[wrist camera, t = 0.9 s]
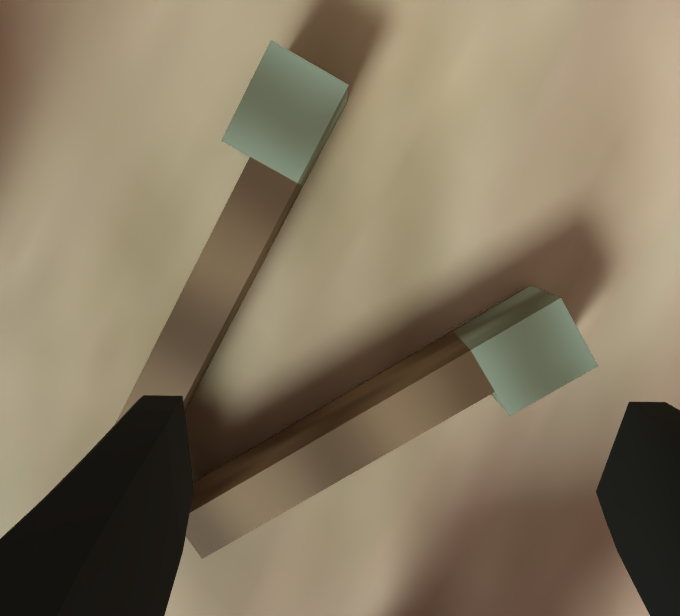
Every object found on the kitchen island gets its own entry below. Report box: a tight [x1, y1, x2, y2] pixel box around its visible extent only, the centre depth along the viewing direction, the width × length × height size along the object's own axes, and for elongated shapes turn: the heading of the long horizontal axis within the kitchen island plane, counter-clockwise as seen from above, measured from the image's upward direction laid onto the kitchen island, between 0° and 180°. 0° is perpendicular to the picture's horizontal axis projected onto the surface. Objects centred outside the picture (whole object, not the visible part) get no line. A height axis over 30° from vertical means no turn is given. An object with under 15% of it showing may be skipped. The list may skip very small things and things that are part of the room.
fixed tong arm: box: [116, 40, 349, 423], centre depth 24 cm, size 22×6×4 cm, turn 151°
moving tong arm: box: [186, 286, 598, 559], centre depth 25 cm, size 18×3×4 cm, turn 121°
